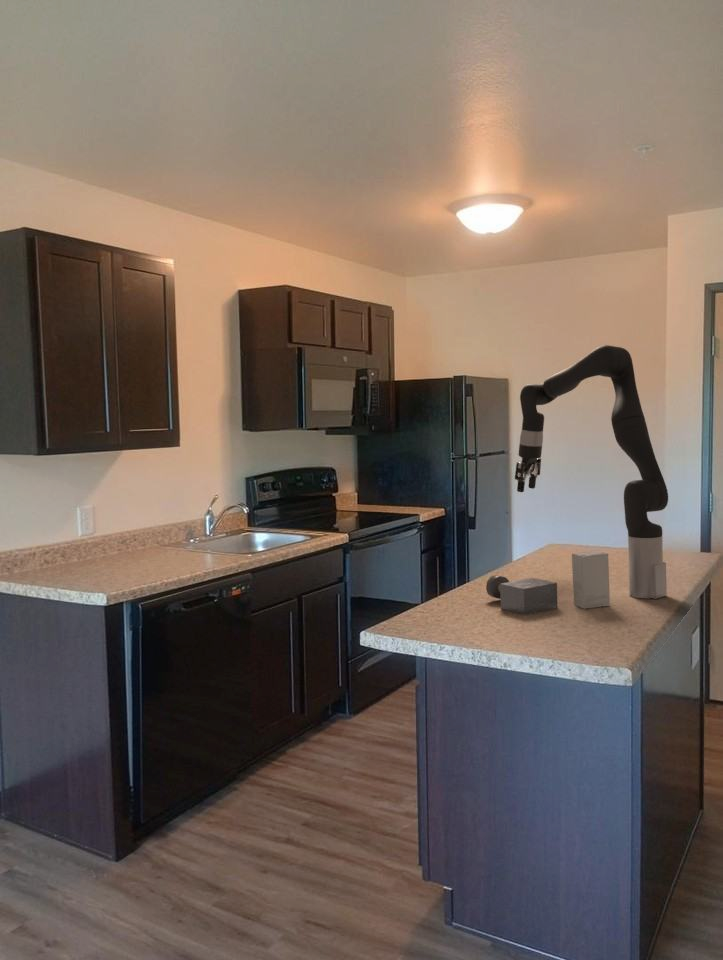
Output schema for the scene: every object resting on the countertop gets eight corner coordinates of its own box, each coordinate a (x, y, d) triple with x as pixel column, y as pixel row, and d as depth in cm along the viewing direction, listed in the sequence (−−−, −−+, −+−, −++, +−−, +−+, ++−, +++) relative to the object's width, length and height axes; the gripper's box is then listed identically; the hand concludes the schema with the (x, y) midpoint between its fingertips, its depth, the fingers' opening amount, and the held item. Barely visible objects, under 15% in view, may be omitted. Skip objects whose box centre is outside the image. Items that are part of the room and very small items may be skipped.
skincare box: (599, 602, 219) (597, 549, 218) (611, 606, 213) (609, 552, 212) (572, 605, 216) (570, 552, 215) (583, 609, 211) (582, 555, 210)
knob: (486, 598, 225) (485, 576, 225) (503, 595, 229) (502, 573, 228) (512, 605, 216) (511, 582, 216) (529, 601, 219) (528, 579, 219)
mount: (500, 608, 216) (500, 583, 215) (533, 602, 222) (532, 577, 222) (524, 614, 208) (523, 588, 207) (557, 608, 214) (556, 582, 213)
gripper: (531, 447, 255) (526, 495, 259) (550, 442, 267) (545, 488, 270) (511, 443, 260) (506, 491, 264) (530, 439, 271) (525, 484, 275)
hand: (526, 489), depth 267 cm, fingers open, 8 cm apart
